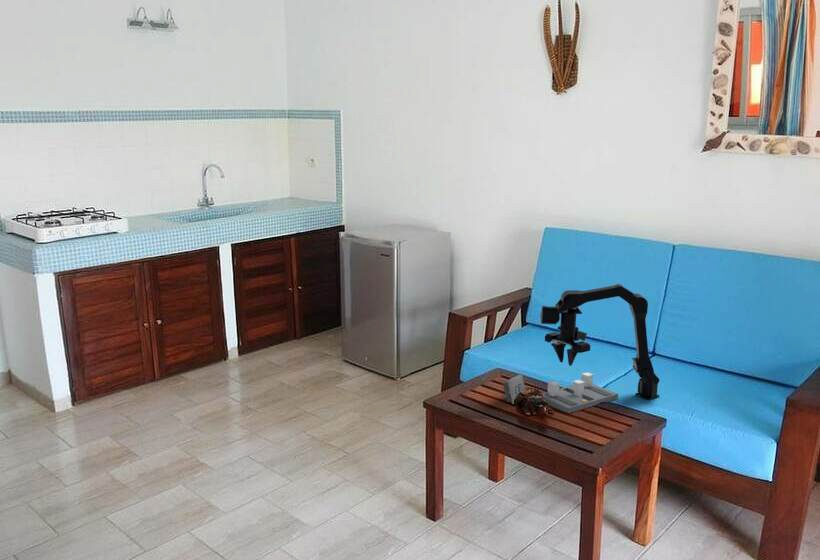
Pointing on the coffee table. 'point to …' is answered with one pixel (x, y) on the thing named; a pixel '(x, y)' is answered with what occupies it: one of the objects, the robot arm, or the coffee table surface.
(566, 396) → the breaker panel
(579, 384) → the breaker handle
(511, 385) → the electrical switch
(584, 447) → the coffee table surface
